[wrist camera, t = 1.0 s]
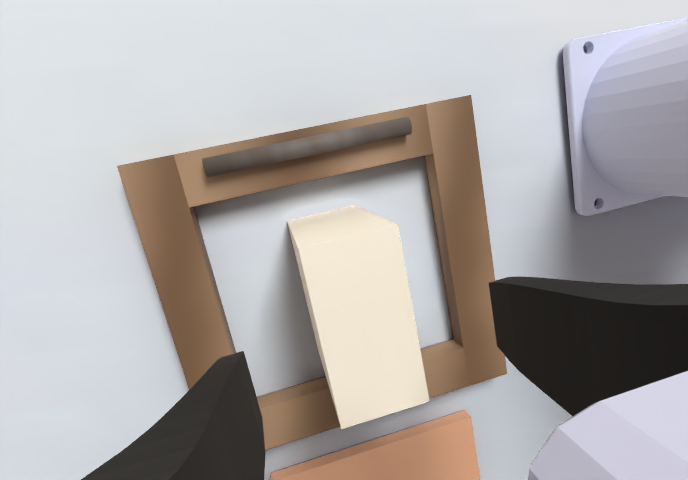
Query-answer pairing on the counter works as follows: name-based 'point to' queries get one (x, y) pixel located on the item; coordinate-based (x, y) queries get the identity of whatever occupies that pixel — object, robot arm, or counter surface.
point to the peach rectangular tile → (400, 456)
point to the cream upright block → (360, 312)
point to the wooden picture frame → (301, 166)
